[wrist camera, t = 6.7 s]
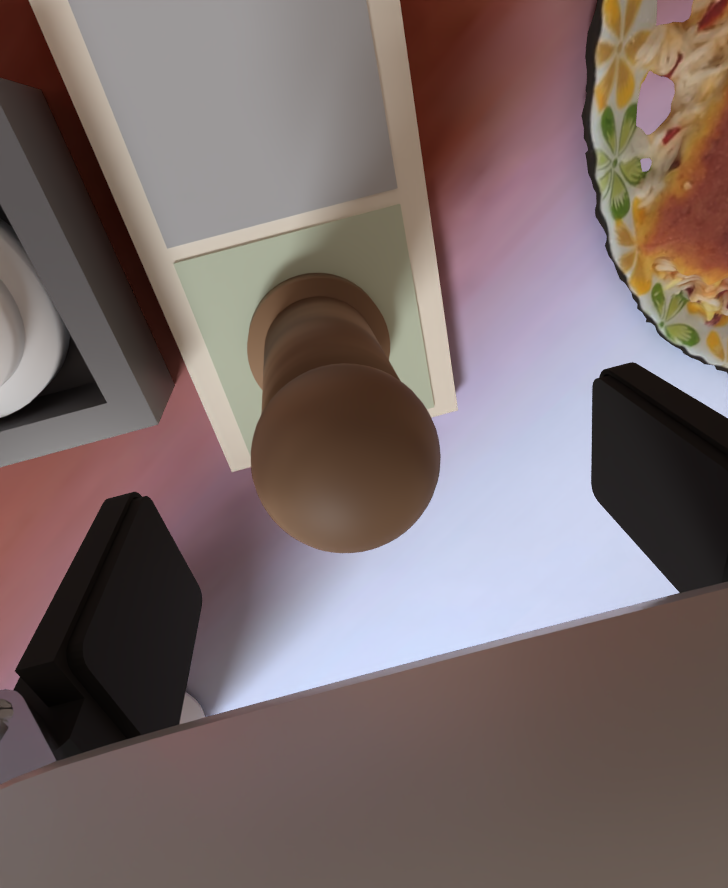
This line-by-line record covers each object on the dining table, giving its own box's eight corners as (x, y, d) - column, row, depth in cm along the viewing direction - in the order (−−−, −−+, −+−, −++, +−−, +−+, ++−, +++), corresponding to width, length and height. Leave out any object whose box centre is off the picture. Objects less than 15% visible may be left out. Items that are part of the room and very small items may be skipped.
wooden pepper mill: (272, 419, 21) (272, 634, 11) (227, 293, 18) (180, 438, 9) (396, 386, 21) (496, 571, 12) (369, 256, 18) (471, 359, 9)
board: (233, 460, 23) (231, 473, 22) (-258, -702, 9) (-318, -798, 8) (450, 400, 23) (458, 411, 22) (271, -813, 10) (271, -919, 9)
